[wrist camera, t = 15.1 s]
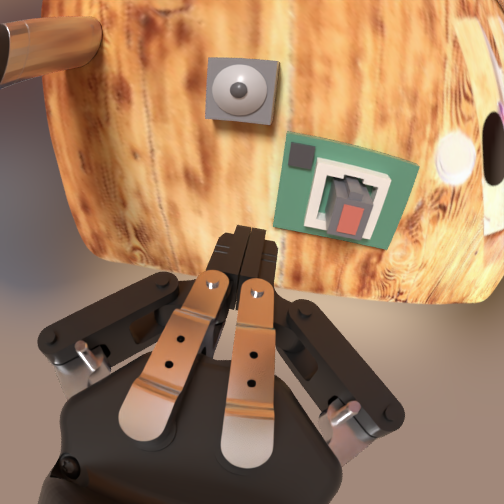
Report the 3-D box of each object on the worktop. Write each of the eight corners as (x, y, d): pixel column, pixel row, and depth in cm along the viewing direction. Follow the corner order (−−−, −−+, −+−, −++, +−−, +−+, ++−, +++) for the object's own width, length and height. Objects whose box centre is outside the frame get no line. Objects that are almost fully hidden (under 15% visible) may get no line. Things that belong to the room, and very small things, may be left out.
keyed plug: (324, 209, 36) (326, 234, 31) (334, 170, 32) (338, 191, 28) (355, 215, 36) (361, 241, 31) (366, 178, 32) (375, 199, 27)
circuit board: (273, 222, 40) (270, 234, 38) (287, 131, 32) (285, 136, 29) (385, 245, 39) (389, 258, 36) (416, 163, 30) (424, 172, 27)
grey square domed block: (211, 115, 32) (203, 119, 30) (215, 58, 27) (207, 57, 25) (272, 121, 31) (269, 126, 29) (279, 62, 26) (277, 61, 24)
